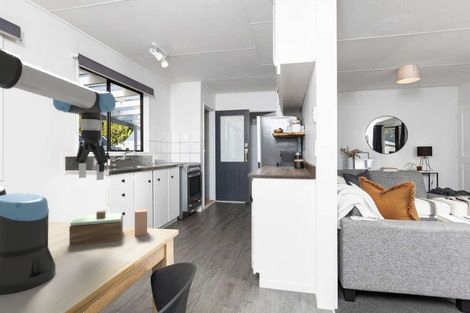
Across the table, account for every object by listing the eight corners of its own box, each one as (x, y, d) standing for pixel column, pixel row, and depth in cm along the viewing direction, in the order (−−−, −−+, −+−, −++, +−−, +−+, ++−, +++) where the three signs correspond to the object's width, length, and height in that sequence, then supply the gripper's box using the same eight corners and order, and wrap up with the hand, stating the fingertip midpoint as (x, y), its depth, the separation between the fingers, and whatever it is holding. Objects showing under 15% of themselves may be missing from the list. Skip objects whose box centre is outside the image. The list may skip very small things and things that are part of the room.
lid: (120, 221, 103) (120, 213, 103) (70, 225, 97) (70, 216, 97) (122, 215, 114) (122, 207, 114) (77, 218, 107) (77, 210, 107)
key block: (147, 234, 110) (147, 211, 110) (134, 235, 108) (134, 212, 108) (146, 231, 115) (146, 208, 114) (134, 232, 113) (134, 209, 113)
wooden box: (121, 239, 103) (121, 222, 103) (69, 245, 96) (69, 226, 96) (122, 230, 114) (122, 215, 114) (76, 235, 108) (76, 218, 107)
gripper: (116, 129, 108) (116, 179, 108) (84, 131, 120) (84, 176, 121) (99, 128, 101) (99, 181, 102) (66, 130, 114) (66, 177, 114)
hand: (91, 178), depth 111 cm, fingers open, 13 cm apart
